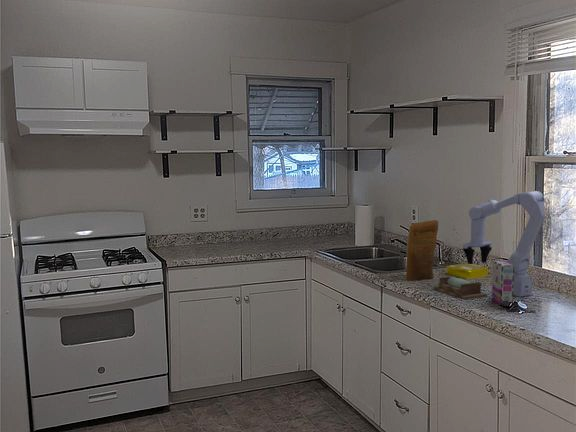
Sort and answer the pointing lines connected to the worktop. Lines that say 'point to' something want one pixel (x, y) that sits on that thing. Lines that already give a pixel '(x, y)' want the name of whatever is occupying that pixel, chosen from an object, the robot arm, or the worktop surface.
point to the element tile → (467, 271)
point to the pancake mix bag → (421, 250)
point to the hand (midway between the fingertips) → (476, 263)
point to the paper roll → (456, 282)
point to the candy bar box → (502, 282)
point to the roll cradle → (466, 289)
